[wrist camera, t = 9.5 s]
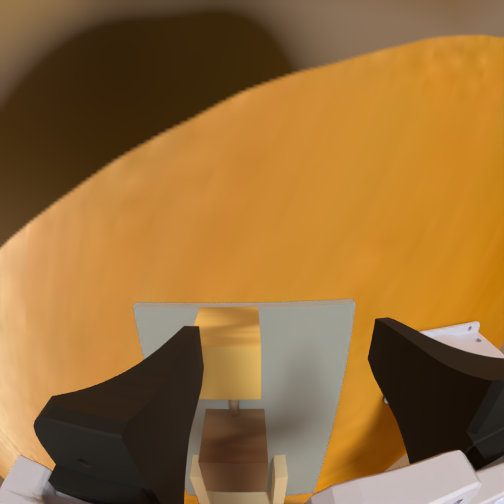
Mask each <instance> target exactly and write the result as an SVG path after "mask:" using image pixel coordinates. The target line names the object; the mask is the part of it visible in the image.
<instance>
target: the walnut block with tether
mask: <svg viewBox="0 0 504 504" xmlns="http://www.w3.org/2000/svg"><path fill="white" fill-rule="evenodd" d="M194 326H199V329H200V338H201V347H202V355H203V363H204V372H203V381H202V388H201V392H200V396H199V399H220V400H229V406H230V409H206V412H205V419H204V425H203V432H202V439H201V446H200V453H199V460H198V463H199V467H200V470H201V474H202V477H203V481H204V484H205V488H206V491H216V492H267V478H268V452H267V438H266V423H265V409H239V400H250V399H261V338H260V325H259V312H258V306H249V307H200V308H199V311H198V314H197V317H196V320H195V324H194Z"/></svg>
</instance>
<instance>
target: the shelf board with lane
mask: <svg viewBox="0 0 504 504" xmlns="http://www.w3.org/2000/svg"><path fill="white" fill-rule="evenodd" d="M355 304H356V303H355V302H354V300H353V299H339V300H319V301H296V302H264V303H145V302H136V304H135V305H134V306H133V309H134V314H135V320H136V325H137V330H138V334H139V339H140V344H141V348H142V353H143V357H144V359H146V358H147V357H148V356H150V355H151V354H152V353H154V352H155V351H156V350H157V349H159V348H160V347H161V346H162V345H163V344H164V343H166V342H167V341H168V340H169V339H170V338H171V337H172V336H173V335H175V334H176V333H177V332H178V331H179V330H180V329H181V328H182V327H183V326H194V324H195V320H196V317H197V314H198V311H199V308H200V307H249V306H258V312H259V325H260V338H261V399H250V400H239V409H265V423H266V438H267V452H268V478H267V492H216V491H206V488H205V484H204V481H203V477H202V474H201V470H200V467H199V463H198V460H199V453H200V446H201V439H202V432H203V425H204V419H205V412H206V409H230V406H229V400H220V399H199V400H198V404H197V408H196V412H195V416H194V420H193V424H192V428H191V432H190V438H189V446H188V454H187V464H186V475H185V489H186V491H187V494H188V495H197V498H198V501H199V503H200V504H284V499H285V496H287V495H298V494H307V493H314V490H315V487H316V484H317V481H318V478H319V474H320V471H321V468H322V464H323V461H324V457H325V454H326V450H327V447H328V443H329V439H330V435H331V431H332V427H333V423H334V419H335V415H336V411H337V406H338V402H339V397H340V393H341V388H342V383H343V378H344V373H345V368H346V362H347V357H348V351H349V345H350V339H351V333H352V326H353V319H354V312H355Z"/></svg>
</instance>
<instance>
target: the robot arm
mask: <svg viewBox="0 0 504 504" xmlns="http://www.w3.org/2000/svg"><path fill="white" fill-rule="evenodd" d="M479 326H480V323H479V322H477V321H474V322H469V323H464V324H459V325H454V326H449V327H443V328H438V329H432V330H425V331H419V332H418V331H416V330H414V329H412V328H410V327H408V326H406V325H404V324H402V323H400V322H398V321H396V320H394V319H391V318H378V319H375V325H374V330H373V335H372V341H371V346H370V350H369V355H368V361H369V364H370V367H371V370H372V372H373V375H374V378H375V380H376V382H377V383H378V385H379V387H380V389H381V391H382V393H383V395H384V397H385V398H384V402H385V403H386V404H389V406H390V408H391V410H392V412H393V414H394V416H395V418H396V420H397V423H398V426H399V429H400V431H401V434H402V437H403V441H404V444H405V447H406V451H407V454H408V458H409V463H410V464H409V465H406V466H403V467H399V468H396V469H392V470H389V471H385V472H381V473H377V474H373V475H368V476H364V477H359V478H354V479H351V480H348V481H344V482H341V483H337V484H334V485H331V486H329V487H327V488H325V489H323V490H321V491H319V492H317V493H315V494H313V495H312V496H311V497H310V499H309V500H308V501H307V502H306V503H305V504H504V355H503V354H502V353H501V352H500V351H499V350H498V349H497V348H496V347H495V346H493V345H492V344H491V343H490V342H489V341H488V340H487V339H486V338H484V337H483V336H482V335H481V334H480V333H479V332H478V330H479ZM203 372H204V363H203V355H202V347H201V338H200V329H199V326H183V327H182V328H181V329H180V330H179V331H178V332H177V333H176V334H175V335H173V336H172V337H171V338H170V339H169V340H168V341H167V342H166V343H164V344H163V345H162V346H161V347H160V348H159V349H157V350H156V351H155V352H154V353H152V354H151V355H150V356H148V357H147V358H146V359H144V360H143V361H142V362H140V363H139V364H137V365H136V366H134V367H132V368H131V369H129V370H127V371H125V372H124V373H122V374H120V375H118V376H115V377H113V378H111V379H109V380H107V381H105V382H102V383H100V384H97V385H94V386H92V387H89V388H85V389H82V390H79V391H75V392H70V393H66V394H61V395H56V396H52V397H51V398H50V400H49V401H48V403H47V404H46V405H45V407H44V408H43V410H42V411H41V413H40V414H39V416H38V417H37V418H36V420H35V422H34V430H35V433H36V436H37V437H38V439H39V441H40V443H41V444H42V446H43V447H44V448H45V450H46V451H47V453H48V454H49V455H50V457H51V458H52V460H53V461H54V462H55V464H56V466H55V468H54V470H53V471H52V470H50V469H49V468H48V467H46V466H44V465H42V464H40V463H38V462H35V461H33V460H31V459H28V458H26V457H24V456H21V455H19V457H18V458H17V460H16V462H15V463H14V465H13V467H12V468H11V470H10V472H9V473H8V475H7V477H6V479H5V480H4V482H3V484H2V486H1V488H0V504H184V491H185V475H186V464H187V454H188V446H189V438H190V432H191V428H192V424H193V420H194V416H195V412H196V408H197V404H198V400H199V396H200V392H201V388H202V381H203Z"/></svg>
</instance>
